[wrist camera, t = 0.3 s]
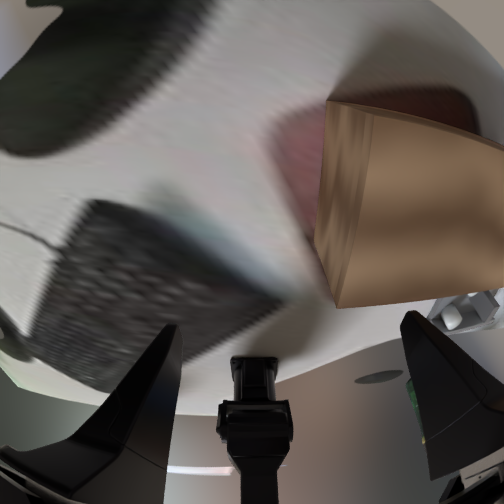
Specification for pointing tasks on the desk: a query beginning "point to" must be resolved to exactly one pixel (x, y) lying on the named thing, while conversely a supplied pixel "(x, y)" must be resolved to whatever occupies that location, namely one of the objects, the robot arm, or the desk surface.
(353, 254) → the tan rectangular block
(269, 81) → the desk surface
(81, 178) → the desk surface
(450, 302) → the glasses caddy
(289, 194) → the desk surface
